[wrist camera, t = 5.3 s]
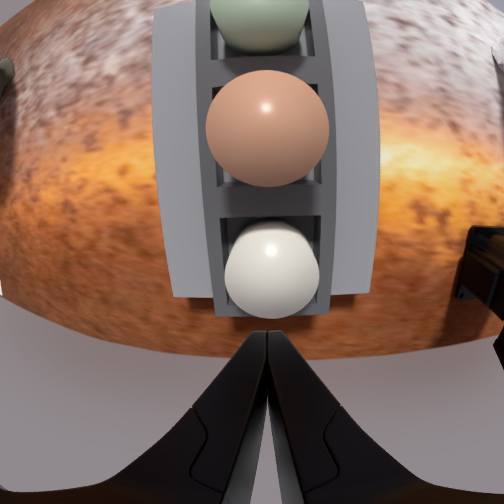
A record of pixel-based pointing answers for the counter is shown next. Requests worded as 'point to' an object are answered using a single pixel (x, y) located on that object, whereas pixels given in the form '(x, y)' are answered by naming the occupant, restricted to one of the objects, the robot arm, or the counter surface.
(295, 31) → the button sage
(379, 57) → the counter surface
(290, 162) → the button terracotta
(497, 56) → the milkshake
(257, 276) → the button ivory
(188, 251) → the button panel
